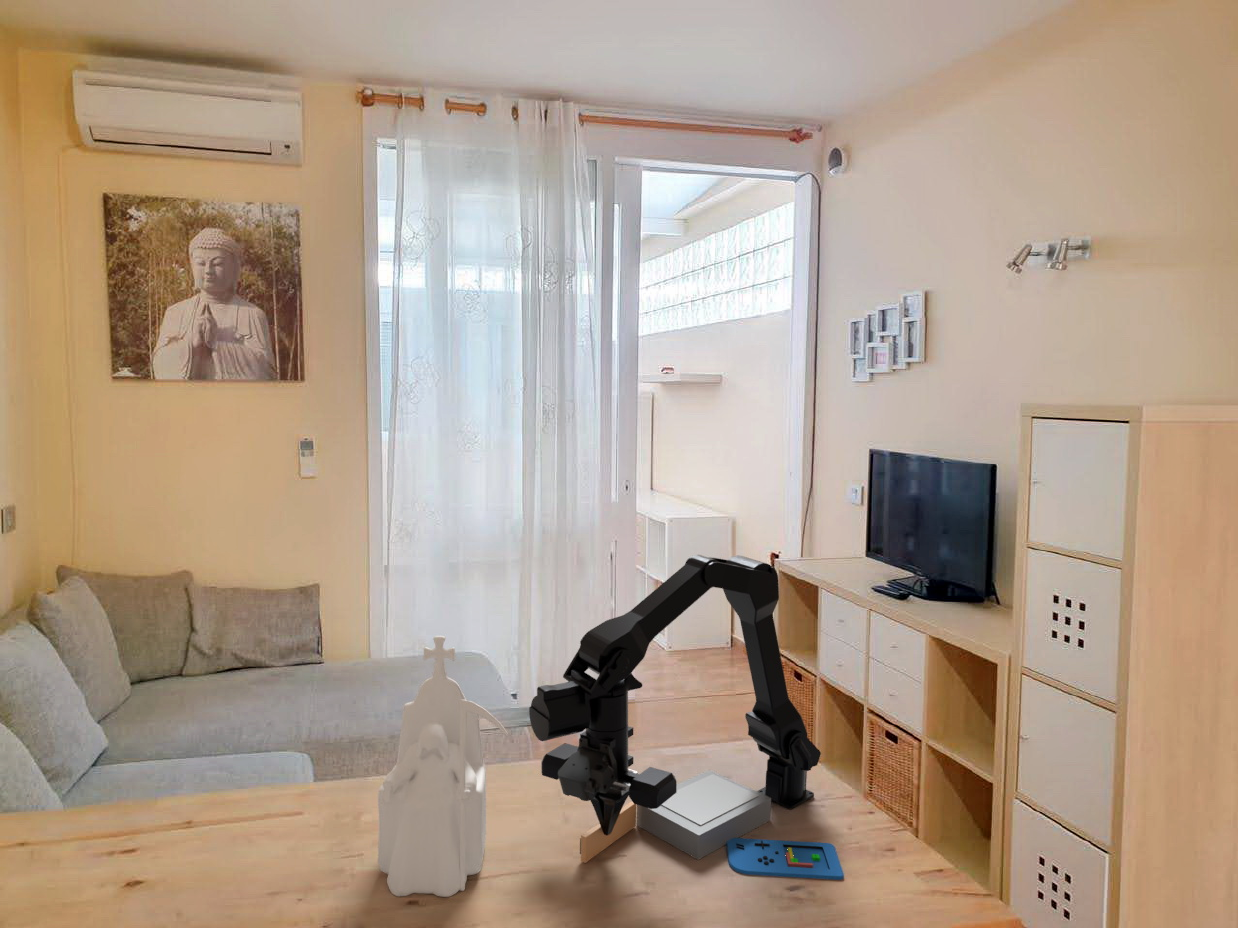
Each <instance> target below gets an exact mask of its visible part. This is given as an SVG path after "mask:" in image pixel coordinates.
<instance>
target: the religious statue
mask: <svg viewBox="0 0 1238 928" xmlns="http://www.w3.org/2000/svg"><path fill="white" fill-rule="evenodd" d="M432 640H433V642H434V648H431V647H428V646H424V647H423V657H422V658H423V661H427V660H428V659H430V658H434V664H433V665H434V667H433V672H432V676H431V677H429V678H427V679H426V680H424V681H423V682H422V683H421V685H420V687H419V689H418V691H417V694H416V696H415V698H414V699H413V701H410V702H409V701H408V702H405V704H404V705H403V707H402V717H401V726H400V727H401V728H400V735H399V743H398V745H399V746H398V752H397V753H398V754H397V760H396V764H395V765H394V766H393V768H392V770H391V771H390V772H388V773H387V775H386V776H385V778H384V779H383V782H382V783H381V785H380V787H379V789H378V792H377V793H378V794H377V806H378V808H377V809H378V843H377V844H378V846H377V848H378V849H377V852H378V854H377V864H378V869H379V871H381V872H382V873H384V874H387V879H386V883H387V887H388V890H389V891H390V892H391V893H392V895H394V896H396V897H406V896H409V895H412V894H434V895H435V896H437V897H444V898H448V897H452V896H454V895H455V894H457V893H458V892H459V891H460V892H463V891H465V890H466V883H467V880H468V877H467V876H472V875H473V876H474V875H477V874H478V873H479V872H480V871H481V870H482V866H483V865H482V864H483V860H484V852H485V846H486V840H487V839H486V838H487V837H486V836H487V805H486V804H487V772H486V771H487V770H486V765H485V761H484V756H483V755H484V754H483V743H482V735H481V734H482V733H481V727H480V719H479V718H480V717H481V718H483V719H484V720H486V721H487V722H489V723H491V724H492V725H494V726H496V728H497V729H500V731H502V732H503V733H504V734H505V735H506V737H507V738H508V737H509V733H508V731H507V730H506V728H505V727H504V725H502V723H501V722H500V721H499V720H498V719H497V718H496V717H495V716H493V714H492V713H490V711H488V710H487V709H485V708H484V707H483V706H481V705H479V704H477V703H476V702H474V701H472V700H469V699H468V700H467V698H466V696H465V694H464V693H463V689H461V687H460V685H459V683H458V682H457V681H456V680H454V679H453V678H451V677H449V676H447V675H448V673H447V669H446V666H445V659H449V660H451V661H453V662H454V661H455V660H456V648H455V646H453V647H450V648H448V649H446V648H444V643H445V640H446V637H445V636H444V635H434V636H433V639H432Z"/></svg>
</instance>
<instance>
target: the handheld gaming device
mask: <svg viewBox="0 0 1238 928" xmlns="http://www.w3.org/2000/svg"><path fill="white" fill-rule="evenodd" d="M835 847H836V846H835V845H834V844H832V843H829V842H817V841H814V842H812V841H797V840H795V841H794V840H782V839H781V840H779V839H778V840H777V839H762V838H761V839H760V838H757V839H756V838H743V837H739V838H733V839H731V840H729V841H727V844H726V849H727V850H726V851H727V859H728V866H729V867H730V868H731V869H732V870H733V871H735V872H737V873H739V874H742V875H749V876H750V875H751V876H767V877H784V878H785V877H786V878H800V879H801V878H802V879H820V880H835V881H836V880H837V881H841V880H843V879H844V877H845V876H844V875H845V873H844V871H843V868H842V865H841V863H840V859H839V856H838V853H837V850H836V848H835ZM787 849H788V850H787ZM785 855H786V856H785ZM793 855H794V856H793Z"/></svg>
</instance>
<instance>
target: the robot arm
mask: <svg viewBox="0 0 1238 928" xmlns="http://www.w3.org/2000/svg"><path fill="white" fill-rule="evenodd" d="M713 588H716V589H722V591H723V593H724V595H725V598H726V600H727V602H728V603H729V605H730V606H731V608H732V609H733V611H734V612H735V613H736V615H737V616H738V618H739V621H740V626H741V631H742V636H743V641H744V646H745V650H746V656H747V657H746V658H747V661H748V662H747V663H748V666H749V671H750V675H751V680H752V681H751V682H752V685H753V691H754V695H755V702H754V705H753V707H752V710H751V711H748V712H746V713H745V716H744V717H745V720H746V722H747V728H748V731H747V735H748V736H749V737H751V738H752V739H753V741H754V742H755V743H756V745H757V748H758V751H759V752H762V753H764V754H766V755H768V759H767V761H766V763H767V764H766V771H765V786H763V787H762V788H760V789H758V790H757V792H759V793H761V794H763V795H766V796H768V797H770V798H771V802H774V803H775V804H778V805H780V806H781V807H785V808H787V809H790V810H792V809H794V808H796V807H797V806H800V805H802V804H803V803H805V802H807V801H809V800H811V799H812V798H814V797H815V793H814V792H812V791H811V790H808V789H807V779H808V777H807V776H808V774H807V773H808V772H809V771H812V768H813V767H816V766H818V764H819V761H820V758H821V755H822V752H821V751H820V749H819V748H818V747H817V746H816V745H815V744H814V743H813V742H812V741H811V740H810V739H809V738H808V730H807V728H806V725H805V723H804V720H803V718H802V715H801V714H800V712H799V711H798V709H797V707H796V706H795V705H794V703H793V701H791V699H790V697H789V693H788V687H787V682H786V677H785V671H784V667H783V662H782V656H781V651H780V645H779V640H778V636H777V635H778V634H777V629H776V625H775V619H774V611H775V609H776V607H777V605H778V602H779V599H780V591H779V589H780V588H779V575H778V572H777V569H776V568H775V567H774V566H772V565H771V564H769V563H766V562H763V561H760V560H756V559H753V558H749V557H746V556H743V555H733V556H731V557H730V558H729V559H723V558H717V557H711V556H710V557H709V556H708V557H707V556H704V555H702V554H695V555H692V556H690V557H688V558H687V560H686V561H685V564H684V565H683V566H682V567H681V568H679V569H678V570H677V571H676V572H675V573H673V574H672V575H671V576H670V577H669V578H667V579H666V580H665V581H664V582H662V583H661V585H659V586H658V587H657V588H656V589H654V590H653V591H652V592H651V593H649V595H647V596H646V597H645V598H644V599H643V600H641V601H640V602H639V603H638V604H637V605H635V606H634V607H633V608H632V609H631V610H630V611H627V612H626V613H624V614H622V615H620V616H619V615H618V616H617V617H613V618H610V619H607V620H605V621H603V622H601V623H600V624H598V625H597V626H595V627H593V628H591V629H590V630H588V631H586V633H585V634H584V635H583V636H582V638H581V639H580V642H579V644H580V645H579V648H578V649H577V651H576V653H575V654H574V656H573V658H572V660H571V662H570V663H569V665H568V666H567V668H566V670H565V671H564V673H563V674H562V678H563V679H564V680H565V681H567V682H560V683H557V684H552V685H550V684H545V685H540V686H538V687H537V688H536V691H537V692H536V693H537V694H536V695H535V696H534V697H533V698H532V700H531V703H530V706H529V707H528V714H529V721H530V726H531V729H532V732H533V733H534V735H535V737H536V738H537V740H538V741H540V742H545V741H550V740H553V739H558V738H562V737H566V736H570V735H573V734H579V733H580V735H579V739H578V746H577V745H574V744H570V743H566V742H564V743H562V744H560V745H559V746H557V747H556V748H554V749H551V750H550V751H549V752H547V753H545V755H543V758H542V759H541V770H540V771H541V776H542V777H543V776H544V777H546V778H549V779H553V780H556V781H557V780H559V783H560V787H561V791H562V793H563V795H565V796H569V797H570V796H571V797H574V798H577V799H580V800H581V801H583V802H589V801H590V803H591V804H592V807H593V809H594V812H595V815H596V818H597V819H598V824H599V823H600V826H601V828H602V831H603V834H604V835H607V836H608V835H609V834H611V832H612V830H613V828H614V826H615V823H616V821H617V819H618V816H619V814H620V812H621V809H622V807H624V806H625V803H626V801H627V799H628V798H629V799H630V800H631V801H633V803H634V804H636V806H637V805H640V806H643V807H646V808H650V809H655V808H658V807H659V806H660V805H662V804H663V803H664V802H665V801H667V800H668V799H669V798H670V797H672V796H673V795H674V794H675V793H677V784H678V783H677V782H678V781H677V779H676V776H675V775H674V774H673V773H672V772H670V771H666V770H663V769H660V768H657V767H652V766H649V767H648V768H646V769H645V770H643V771H642V772H640V773H639V772H638V771H637V770H634V769H630V767H631V766H632V765H634V756H633V755H630V754H629V738H630V737H632V736H634V727H632V726H629V692H630V691H633V690H634V691H635V690H639V689H641V688H642V687H643V683H642V682H641V681H640V680H638V679H637V678H636V677H635V676H634V675H633V673H632V672H633V671H634V670H635V669H636V668H637V666H639V664H640V663H642V661H643V660H644V658H645V656H646V654H647V651H648V648H649V645H650V644H651V642H652V641H653V640H654V639H655V638H656V637H657V636H658V635H659V634H660V633H661V632H662V631H664V630H665V629H666V628H668V626H669V625H671V624H672V623H673V622H674V621H675V620H676V619H678V618H679V617H680V616H681V615H682V614H683V613H684V612H685V611H686V610H688V609H689V608H690V607H691V606H693V605H694V603H696V602H698V600H699V599H701V598H702V596H704V595H705V594H706V593H707V592H708V591H710V589H713ZM588 669H589V670H591V671H592V672H593V673H595V674H597V675H598V676H597V678H595V677H593V676H591V675H590V674H588V673H587V670H588Z"/></svg>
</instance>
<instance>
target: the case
mask: <svg viewBox="0 0 1238 928" xmlns="http://www.w3.org/2000/svg"><path fill="white" fill-rule="evenodd" d="M771 810H772V801H771V798H770V797H768V796H766V795H763V794H761V793H759V792H758V790H755V789H752V788H751V787H748V786H746V785H744V784H741V783H740V782H738V781H735V780H733V779H731V778H728V777H726V776H724V775H722V774H719V773H717V772H715V771H713V770H711V769H708V770H706V771H704V772H702V773H699V774H697V775H695V776H692V777H690V778H688V779H686V780H683V781H681V782H679V783H677V793H675V794H674V795H673V796H672V797H670V798H669V799H668V800H667V801H665V802H664V803H663V804H662V805H660V806H659V807H658V808H655V809H650V808H646V807H643V806H640V805H637V804H636V826H637V827H639V828H640V829H643V830H644V831H645V832H648V833H649V834H652V835H654V837H657V838H658V839H660V840H662V841H664V842H665V843H667V844H669V845H671V846H673V847H674V848H677V849H678V850H680V851H681V852H683V851H684V852H683V853H684V854H685V853H686V854H687V855H689V856H690V855H692V856H693V857H692V856H691V857H692V858H694V857H695V858H694V859H696V858H697V859H696V860H698V859H699V860H701V859H702V857H703V856H704V857H706V856H708V855H709V854H712V853H713V852H715V851H717V850H719V849H721V848H722V847H725V846H727V841H729V840H731V839H733V838H742V837H743V836H745V835H746V834H748V833H750V832H751V831H753V829H754V830H756V829H757V828H759V827H762V826H763V825H765V824H766V823H768V822H770V821H771V813H772V812H771ZM755 828H756V829H755ZM744 834H745V835H744ZM742 835H743V836H742ZM705 855H706V856H705ZM704 857H703V858H704ZM700 858H701V859H700Z"/></svg>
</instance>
